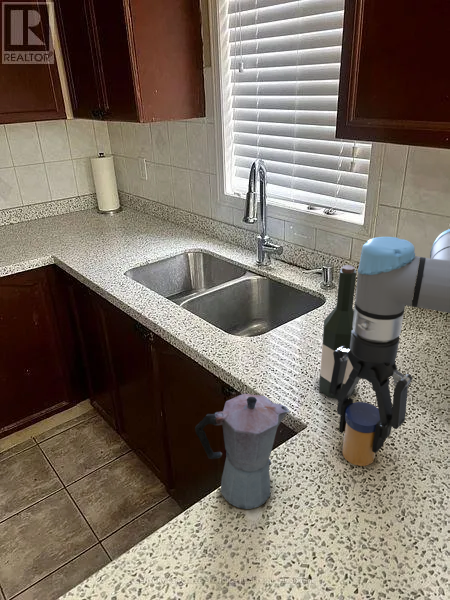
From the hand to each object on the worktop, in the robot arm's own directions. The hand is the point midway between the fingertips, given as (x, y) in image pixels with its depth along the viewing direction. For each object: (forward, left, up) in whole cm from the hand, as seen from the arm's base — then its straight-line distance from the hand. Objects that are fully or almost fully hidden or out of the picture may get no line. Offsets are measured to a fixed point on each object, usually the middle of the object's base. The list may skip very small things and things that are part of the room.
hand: (360, 438), depth 83 cm
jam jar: (0, 0, -4) cm, 4 cm away
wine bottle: (+9, -18, -4) cm, 21 cm away
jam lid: (0, 0, +6) cm, 6 cm away
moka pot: (+16, +17, -4) cm, 24 cm away
